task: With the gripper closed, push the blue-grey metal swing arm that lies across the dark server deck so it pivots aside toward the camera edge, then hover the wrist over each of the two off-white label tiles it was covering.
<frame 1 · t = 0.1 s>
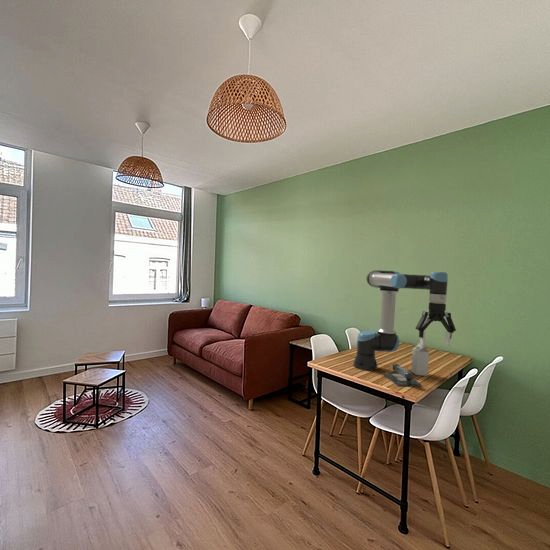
hand: (434, 344, 147), 28 cm above the table, fingers open, 13 cm apart
deck: (401, 380, 172), on the table
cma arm: (402, 371, 172), point 5 cm above the table, hinge at 0.0°
milk carton: (419, 374, 186), on the table
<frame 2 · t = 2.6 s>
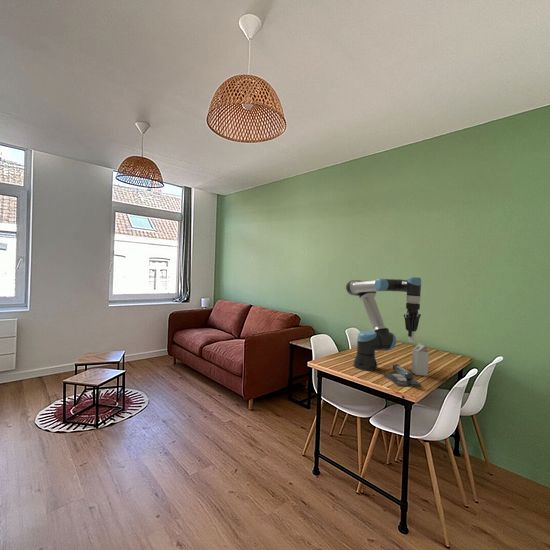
hand: (410, 341, 175), 22 cm above the table, fingers closed
nothing on the table moved.
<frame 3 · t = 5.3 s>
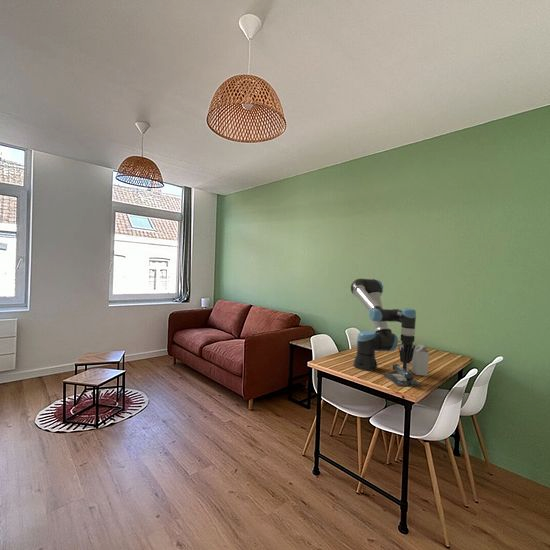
hand: (405, 373, 174), 3 cm above the table, fingers closed
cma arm: (402, 371, 172), point 6 cm above the table, hinge at 0.1°, touching gripper
everything else where it was.
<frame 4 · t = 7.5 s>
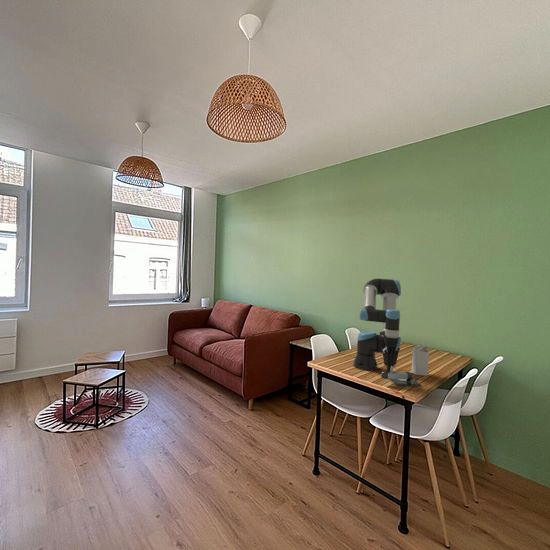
hand: (389, 377, 168), 3 cm above the table, fingers closed
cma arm: (397, 375, 165), point 5 cm above the table, hinge at 86.5°, touching gripper
everything else where it was.
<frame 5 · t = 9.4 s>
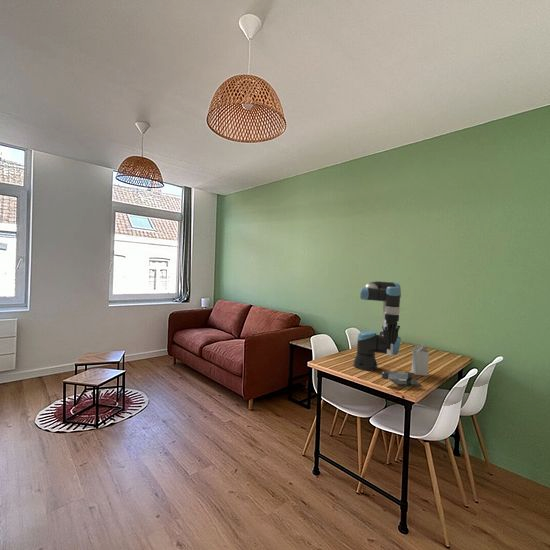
hand: (389, 354, 167), 16 cm above the table, fingers closed
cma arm: (397, 375, 164), point 6 cm above the table, hinge at 89.0°
everything else where it was.
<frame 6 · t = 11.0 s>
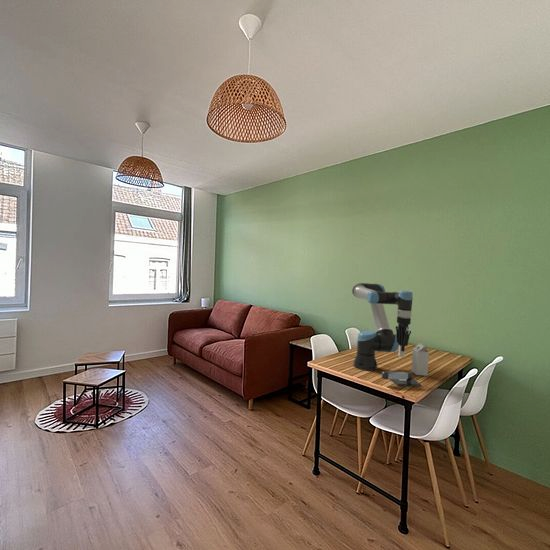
hand: (401, 356, 174), 14 cm above the table, fingers closed
nothing on the table moved.
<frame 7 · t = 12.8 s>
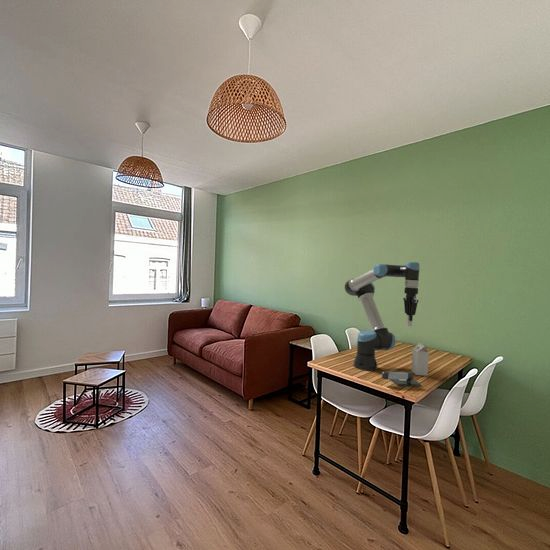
hand: (409, 325, 178), 32 cm above the table, fingers closed
nothing on the table moved.
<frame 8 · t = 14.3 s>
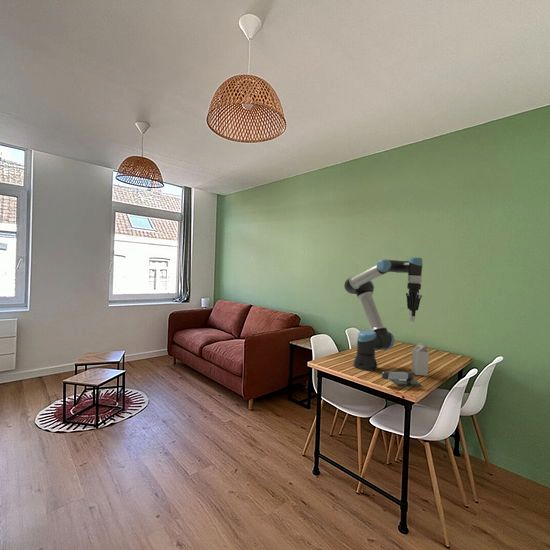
hand: (411, 321, 178), 34 cm above the table, fingers closed
nothing on the table moved.
at the end: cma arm at +89° (first picture: +0°); the gripper is holding nothing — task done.
